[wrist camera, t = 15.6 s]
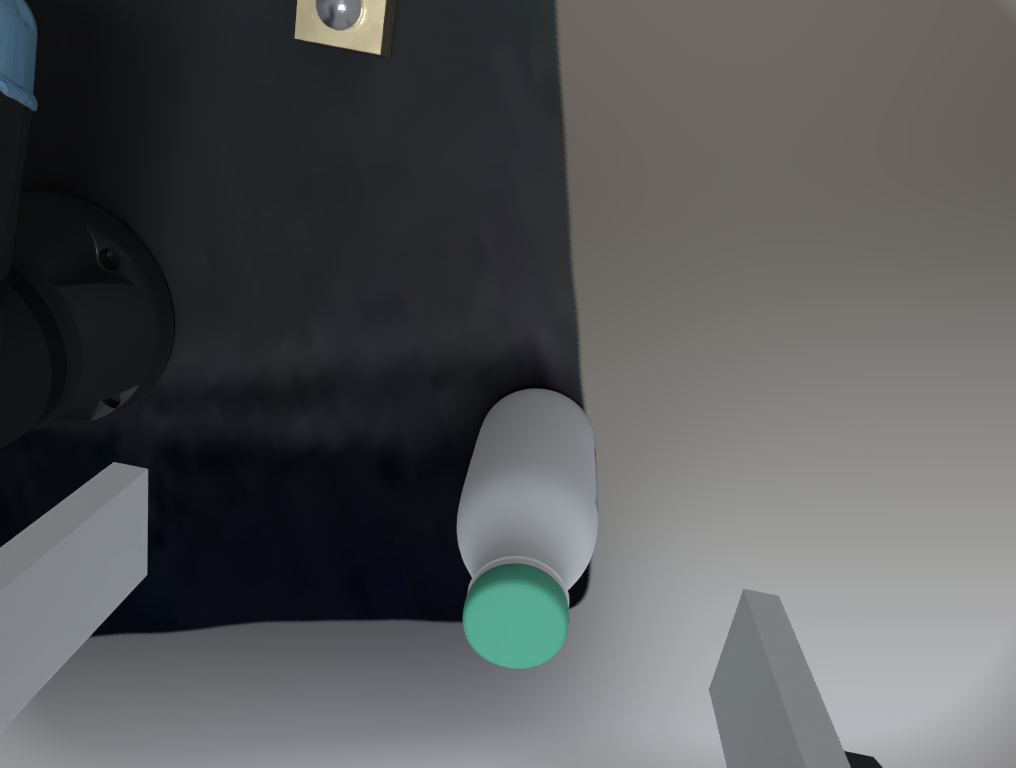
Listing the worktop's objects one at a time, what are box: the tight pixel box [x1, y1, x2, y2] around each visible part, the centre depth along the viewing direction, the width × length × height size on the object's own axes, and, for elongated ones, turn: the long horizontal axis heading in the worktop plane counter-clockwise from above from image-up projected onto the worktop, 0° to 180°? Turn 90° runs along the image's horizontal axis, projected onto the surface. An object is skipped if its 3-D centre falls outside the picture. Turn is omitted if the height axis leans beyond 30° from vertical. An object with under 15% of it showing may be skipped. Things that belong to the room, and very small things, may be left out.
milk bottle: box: [457, 389, 598, 669], centre depth 41 cm, size 8×8×20 cm
